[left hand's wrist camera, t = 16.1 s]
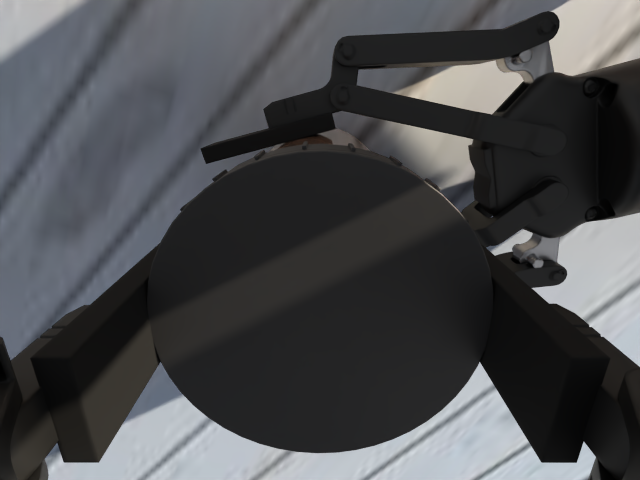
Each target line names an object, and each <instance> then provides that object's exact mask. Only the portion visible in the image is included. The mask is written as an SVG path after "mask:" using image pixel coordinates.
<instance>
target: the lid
mask: <svg viewBox="0 0 640 480" xmlns="http://www.w3.org/2000/svg"><path fill="white" fill-rule="evenodd" d="M212 180H213V181H214V182H213V183H212V184H210V185H209V186H208V187H206V188H205V189H204V190H203V191H202V192H201V193H199V194H198V195H197V196H196V197H195V198H194V199H192V200H191V201H190V202H188V203H187V204H186V205H184V206H183V207H182V208H181V209H180V210H181V213H180V214H179V215H178V216H177V217H176V219H175V220H174V221H173V222H172V224H171V225H170V227H169V229H168V231H167V232H166V234H165V236H164V237H163V239H162V241H161V243H160V245H159V248H158V250H157V253H156V255H155V258H154V260H153V263H152V267H151V272H150V276H149V280H148V291H147V310H148V316H149V322H150V327H151V332H152V338H153V343H154V346H155V349H156V351H157V354H158V357H159V359H160V361H161V363H162V365H163V366H164V368H165V370H166V372H167V374H168V375H169V377H170V378H171V380H172V381H173V382H174V384H175V385H176V386H177V388H178V389H179V390H180V392H181V393H182V394H183V395H184V396H185V397H186V398H187V399H188V400H189V401H190V402H191V403H192V404H193V405H194V406H195V407H196V408H197V409H199V410H200V411H201V412H202V413H203V414H205V415H206V416H207V417H208V418H210V419H211V420H213V421H214V422H216V423H217V424H219V425H221V426H222V427H224V428H225V429H227V430H229V431H231V432H233V433H235V434H237V435H239V436H241V437H244V438H246V439H249V440H251V441H254V442H257V443H259V444H263V445H267V446H270V447H274V448H278V449H283V450H290V451H296V452H308V453H335V452H344V451H351V450H357V449H362V448H366V447H370V446H375V445H378V444H380V443H383V442H386V441H389V440H392V439H394V438H397V437H399V436H401V435H403V434H405V433H408V432H410V431H411V430H413V429H415V428H416V427H418V426H420V425H422V424H423V423H425V422H427V421H428V420H429V419H430V418H432V417H433V416H434V415H436V414H437V413H438V412H440V411H441V410H442V409H443V408H444V407H445V406H446V405H447V404H448V403H450V402H451V401H452V400H453V399H454V398H455V397H456V396H457V394H458V393H459V392H460V391H461V389H462V388H463V387H464V386H465V385H466V383H467V382H468V381H469V379H470V377H471V376H472V374H473V372H474V371H475V369H476V368H477V366H478V364H479V362H480V360H481V357H482V355H483V353H484V351H485V348H486V344H487V340H488V334H489V329H490V323H491V318H492V312H493V306H494V299H493V284H492V279H491V273H490V268H489V265H488V262H487V259H486V256H485V253H484V250H483V248H482V246H481V244H480V242H479V240H478V238H477V236H476V234H475V232H474V231H473V229H472V228H471V226H470V225H469V221H468V220H467V219H466V218H465V217H464V216H463V215H462V214H461V213H460V211H459V210H458V209H457V208H456V207H455V206H454V205H453V204H452V203H451V202H450V201H449V200H448V199H447V198H446V197H445V196H444V195H443V194H442V193H440V192H439V191H440V188H439V187H438V186H437V185H435V184H434V183H432V182H431V181H430V180H428V179H427V178H426V179H425V180H423V179H422V178H420V177H419V176H418V175H416V174H415V173H414V172H412V171H411V170H410V169H408V168H406V167H404V166H402V163H401V162H399V161H398V160H397V159H395V158H394V157H392V156H390V158H387V157H384V156H382V155H379V154H376V153H374V152H371V151H368V150H364V149H359V148H355V147H354V145H353V144H352V143H348V146H345V145H334V144H308V141H304V142H303V145H296V146H291V147H285V148H280V149H276V150H273V151H270V152H267V153H265V151H264V150H263V151H261V152H259V153H258V154H257V155H256V156H255V157H254V158H252V159H250V160H248V161H245V162H243V163H241V164H239V165H237V166H236V167H234V168H233V169H232V170H230V171H229V172H227V170H224V171H223V172H221V173H220V174H219V175H217V176H216V177H214V178H213V179H212Z"/></svg>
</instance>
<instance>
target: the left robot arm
mask: <svg viewBox="0 0 640 480" xmlns="http://www.w3.org/2000/svg"><path fill="white" fill-rule="evenodd" d="M480 244H481V243H480ZM159 245H160V244H158V245H157V246H156V247H155V248H154V249H153V250H152V251H150V252H149V253H148V254H147V255H146V256H145V257H144V258H143V259H141V260H140V261H139V262H138V263H137V264H136V265H135V266H134V267H132V268H131V269H130V270H129V271H128V272H127V273H126V274H125V275H123V276H122V277H121V278H120V279H119V280H118V281H117V282H115V283H114V284H113V285H112V286H111V287H110V288H109V289H108V290H106V291H105V292H104V293H103V294H102V295H101V296H100V297H99V298H97V299H96V300H95V301H94V302H93V303H92V304H91V305H84V306H82V307H80V308H78V309H76V310H74V311H72V312H70V313H68V314H66V315H65V316H64V317H62V318H61V319H60V320H59V321H58V322H56V323H55V324H54V325H53V326H52V329H48V330H47V331H46V332H45V333H43V334H42V335H41V336H40V338H37V339H36V340H35V341H34V342H33V343H31V344H30V345H29V346H28V347H27V348H25V349H24V350H23V351H22V352H21V353H19V354H18V355H17V356H16V357H15V358H14V359H12V360H11V361H10V358H9V355H8V352H7V349H6V346H5V344H4V341H3V338H2V337H0V480H48V469H47V465H46V462H45V458H46V456H47V455H48V454H49V452H50V451H51V450H52V448H53V447H54V446H55V445H56V443H58V446H59V449H60V452H61V455H62V458H63V461H64V462H99V461H100V460H101V458H102V456H103V455H104V453H105V451H106V450H107V448H108V447H109V445H110V443H111V442H112V440H113V438H114V437H115V435H116V434H117V432H118V430H119V429H120V427H121V425H122V424H123V422H124V420H125V419H126V417H127V416H128V414H129V412H130V411H131V409H132V407H133V406H134V404H135V403H136V401H137V399H138V398H139V396H140V394H141V393H142V391H143V389H144V388H145V386H146V385H147V383H148V381H149V380H150V378H151V376H152V375H153V373H154V371H155V370H156V368H157V367H158V365H159V363H160V362H161V361H160V359H159V357H158V354H157V351H156V349H155V346H154V343H153V338H152V332H151V327H150V322H149V316H148V310H147V291H148V280H149V276H150V272H151V267H152V263H153V260H154V258H155V255H156V253H157V250H158V248H159ZM481 246H482V248H483V250H484V253H485V256H486V259H487V262H488V265H489V268H490V273H491V279H492V284H493V299H494V306H493V312H492V318H491V323H490V329H489V334H488V340H487V344H486V348H485V351H484V353H483V355H482V357H481V360H480V363H481V364H482V366H483V368H484V369H485V371H486V372H487V374H488V376H489V377H490V379H491V381H492V382H493V384H494V386H495V387H496V389H497V390H498V392H499V394H500V395H501V397H502V399H503V400H504V402H505V404H506V405H507V407H508V408H509V410H510V412H511V413H512V415H513V417H514V418H515V420H516V421H517V423H518V425H519V426H520V428H521V430H522V431H523V433H524V435H525V436H526V438H527V439H528V441H529V443H530V444H531V446H532V448H533V449H534V451H535V452H536V454H537V456H538V457H539V459H540V461H541V462H556V463H577V460H578V457H579V454H580V451H581V448H582V444H583V441H584V442H585V443H586V445H587V446H588V447H589V448H590V450H591V451H592V452H593V454H594V455H595V456H596V459H595V462H594V465H593V467H592V470H591V473H590V476H589V479H588V480H640V367H639V366H638V365H637V364H635V363H634V362H633V361H632V360H630V359H629V358H628V357H627V356H626V355H624V354H623V353H622V352H621V351H620V350H618V349H617V348H616V347H615V346H614V345H612V344H611V343H610V342H609V341H608V340H606V339H605V338H604V337H601V336H600V334H599V333H598V332H597V331H596V330H594V329H593V328H592V327H589V325H588V324H587V323H586V322H585V321H584V320H582V319H581V318H580V317H579V316H578V315H576V314H575V313H573V312H571V311H569V310H567V309H565V308H563V307H561V306H560V305H558V304H549V303H548V302H546V301H545V300H544V299H543V298H542V297H541V296H540V295H539V294H537V293H536V292H535V291H534V290H533V289H532V288H531V287H529V286H528V285H527V284H526V283H525V282H524V281H523V280H522V279H520V278H519V277H518V276H517V275H516V274H515V273H514V272H513V271H511V270H510V269H509V268H508V267H507V266H506V265H505V264H503V263H502V262H501V261H500V260H499V259H498V258H497V257H496V256H494V255H493V254H492V253H491V252H490V251H489V250H488V249H487V248H485V247H484V246H483V245H482V244H481Z"/></svg>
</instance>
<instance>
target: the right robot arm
mask: <svg viewBox="0 0 640 480" xmlns="http://www.w3.org/2000/svg"><path fill="white" fill-rule="evenodd" d="M558 29H559V19H558V16H557V15H556V14H555V13H554V12H549V11H547V12H543V13H540V14H538V15H535V16H533V17H530V18H528V19H525V20H523V21H520V22H518V23H515V24H513V25H511V26H508V27H506V28H504V29H494V30H472V31H449V32H427V33H404V34H382V35H359V36H346V37H342V38H341V39H340V40H339V41H338V42H337V44H336V46H335V49H334V53H333V61H332V72H331V78H330V81H329V82H328V84H327V85H326V86H325V87H323V88H321V89H318V90H315V91H311V92H308V93H304V94H300V95H297V96H293V97H290V98H286V99H282V100H279V101H275V102H272V103H271V104H269V105H268V106H267V107H266V108H265V109H263V110H264V113H265V116H266V120H267V123H268V127H269V128H268V129H264V130H260V131H257V132H253V133H249V134H246V135H242V136H238V137H235V138H231V139H227V140H224V141H220V142H216V143H213V144H211V145H208V146H206V147H203V148H201V151H202V154H203V157H204V160H205V162H206V164H207V163H211V162H215V161H218V160H222V159H226V158H230V157H233V156H237V155H241V154H245V153H248V152H252V151H256V150H260V149H263V148H267V147H271V146H275V145H278V144H282V143H286V142H290V141H293V140H296V139H301V138H305V137H308V136H312V135H316V134H320V133H323V132H327V131H331V130H334V129H335V125H334V120H333V116H332V113H335V112H339V111H346V112H350V113H355V114H360V115H364V116H369V117H373V118H378V119H383V120H387V121H392V122H397V123H401V124H406V125H411V126H415V127H420V128H425V129H429V130H434V131H439V132H443V133H448V134H452V135H457V136H462V137H466V138H471V139H473V142H472V145H469V146H468V147H469V155H470V161H471V163H472V165H473V168H474V170H475V178H474V185H473V189H474V198H475V201H474V202H473V203H471V204H470V205H469V206H467V207H466V208H465V209H463V211H462V212H461V214H462V215H463V216H464V217H465V218H466V219H467V220H468V221H469V225H470V226H471V228H472V229H473V231H474V232H475V234H476V236H477V238H478V240H479V242H480V243H481V244H482V245H483V246H484V247H485V248H486V247H488V246H495V245H498V244H500V243H502V242H504V241H505V240H506V239H508V238H509V237H511V236H512V235H514V234H515V233H516V232H518V231H519V230H521V229H524V230H527V231H529V232H532V233H533V235H532V237H531V238H530V239H529V241H527V242H525V243H523V244H516V245H514V246H513V248H512V251H513V252H508V253H503V254H499V255H496V257H497V258H498V259H499V260H500V261H501V262H502V263H503V264H505V265H506V266H507V267H508V268H509V269H510V270H511V271H513V272H514V273H515V274H516V275H517V276H518V277H519V278H520V279H522V280H523V281H524V282H525V283H526V284H527V285H528V286H529V287H531V288H535V287H544V286H554V285H558V284H560V283H562V282H563V281H564V280H565V279H566V276H567V271H566V269H565V268H564V267H563V266H561V265H560V264H558V263H557V257H558V248H559V239H560V237H561V236H564V235H565V234H567V233H568V232H570V231H571V230H572V229H574V228H575V227H577V226H579V225H581V224H583V223H585V222H590V221H598V220H606V219H613V218H618V217H622V216H627V215H631V214H635V213H640V58H639V59H635V60H632V61H628V62H624V63H620V64H617V65H613V66H609V67H605V68H602V69H598V70H594V71H590V72H587V73H583V74H579V75H575V76H568V75H565V74H562V73H557V72H554V68H553V62H552V57H551V51H550V45H549V40H551V39H552V38H553V37H554V36H555V35H556V34H557V32H558ZM494 60H496V64H497V67H498V68H499V70H500V71H502V72H505V73H509V72H517V73H519V74H520V75H521V76H522V77H523V80H524V81H523V82H522V83H521V84H520V85H519V86H518V87H517V89H516V90H515V91H514V92H513V93H512V94H511V95H510V96H509V97H508V98H507V99H506V100H505V101H504V102H503V103H502V105H501V106H500V107H499V108H498V109H497V110H496V111H495V112H494V113H493V114H492V115H491V114H486V113H481V112H475V111H470V110H465V109H461V108H456V107H452V106H447V105H443V104H438V103H434V102H429V101H424V100H420V99H415V98H411V97H406V96H402V95H397V94H393V93H388V92H384V91H379V90H375V89H370V88H366V87H361V86H356V85H357V76H358V70H360V69H383V68H406V67H430V66H453V65H472V64H480V63H485V62H489V61H494ZM491 216H494V217H492V218H490V217H491Z"/></svg>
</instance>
